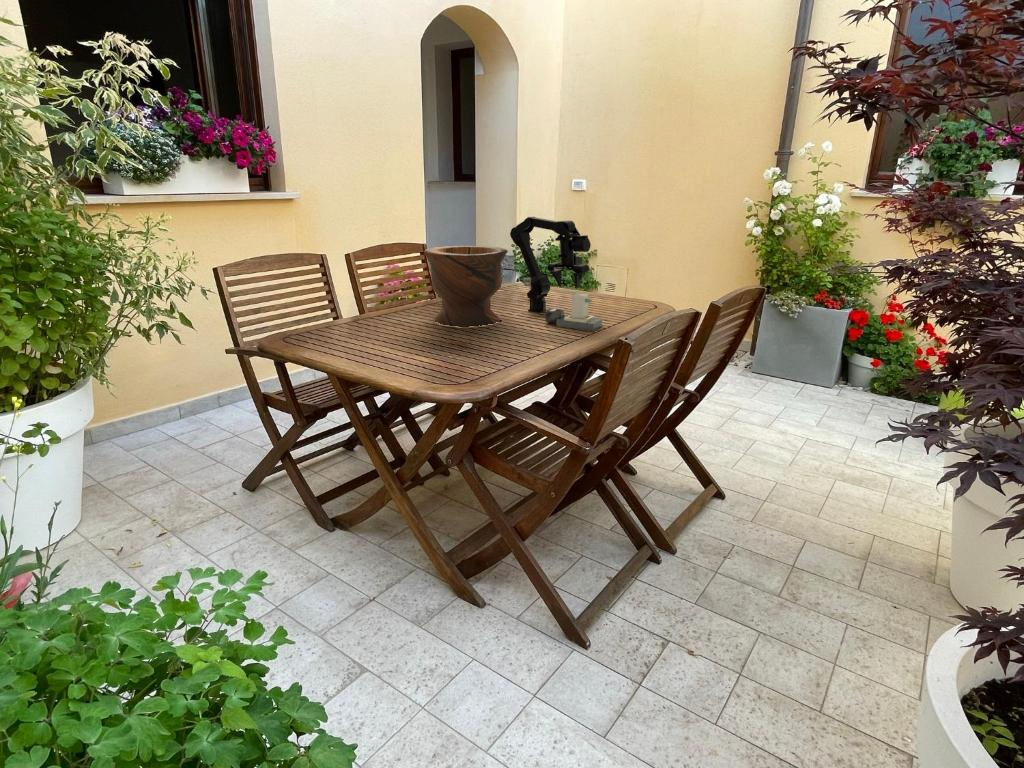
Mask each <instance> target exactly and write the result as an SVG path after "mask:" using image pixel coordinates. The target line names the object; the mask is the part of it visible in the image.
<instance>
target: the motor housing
mask: <svg viewBox="0 0 1024 768" xmlns="http://www.w3.org/2000/svg"><path fill="white" fill-rule="evenodd" d="M544 317H545V322H546V323H549V324H556V326H557V327H556V328H563V327H565V328H564V329H571V328H575V329H574V330H579V329H583V330H582V331H586V330H591V331H590V332H594V331H596V330H598V329H600V328H601V327H602V326H603V318H597V317H595V315H591V314H588V318H586V319H585V320H584V319H575V318H572V313H571V314H565V310H563V309H559V308H546V310H545V316H544ZM600 326H601V327H600ZM597 328H598V329H597ZM595 329H596V330H595Z"/></svg>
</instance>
